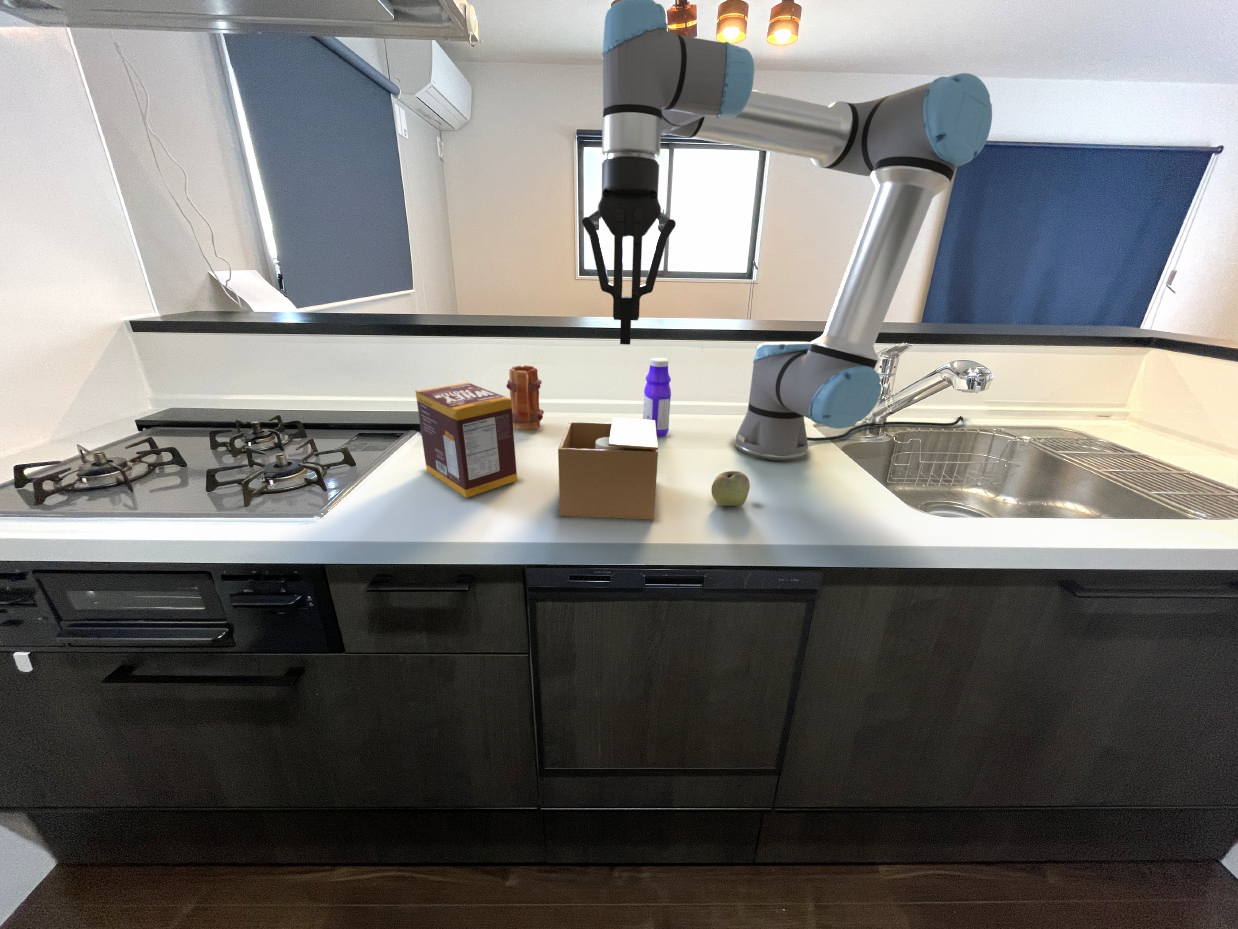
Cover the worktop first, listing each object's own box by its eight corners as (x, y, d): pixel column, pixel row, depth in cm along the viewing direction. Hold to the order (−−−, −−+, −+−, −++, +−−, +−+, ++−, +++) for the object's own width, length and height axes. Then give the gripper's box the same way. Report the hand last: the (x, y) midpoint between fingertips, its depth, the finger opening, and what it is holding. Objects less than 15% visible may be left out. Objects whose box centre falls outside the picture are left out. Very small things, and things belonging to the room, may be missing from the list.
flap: (654, 422, 85) (655, 420, 85) (657, 449, 73) (657, 447, 73) (612, 419, 85) (612, 417, 85) (608, 446, 73) (608, 443, 73)
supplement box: (475, 457, 99) (467, 381, 93) (518, 481, 90) (512, 398, 83) (425, 470, 93) (413, 390, 87) (466, 499, 83) (456, 409, 77)
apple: (762, 510, 82) (767, 477, 80) (717, 514, 80) (721, 481, 78) (745, 493, 87) (750, 463, 85) (703, 497, 85) (706, 466, 83)
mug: (510, 421, 120) (506, 360, 114) (544, 421, 121) (542, 360, 115) (504, 443, 107) (499, 375, 101) (542, 442, 108) (540, 375, 102)
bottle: (671, 438, 113) (677, 362, 106) (647, 439, 111) (651, 362, 104) (661, 427, 119) (666, 355, 112) (639, 429, 118) (642, 356, 111)
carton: (651, 484, 90) (655, 424, 85) (653, 519, 78) (658, 452, 73) (570, 481, 90) (569, 421, 86) (559, 516, 78) (558, 448, 74)
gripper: (678, 165, 68) (667, 340, 77) (583, 162, 68) (584, 337, 77) (683, 155, 61) (670, 348, 70) (577, 152, 61) (579, 345, 70)
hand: (625, 342), depth 74 cm, fingers closed
